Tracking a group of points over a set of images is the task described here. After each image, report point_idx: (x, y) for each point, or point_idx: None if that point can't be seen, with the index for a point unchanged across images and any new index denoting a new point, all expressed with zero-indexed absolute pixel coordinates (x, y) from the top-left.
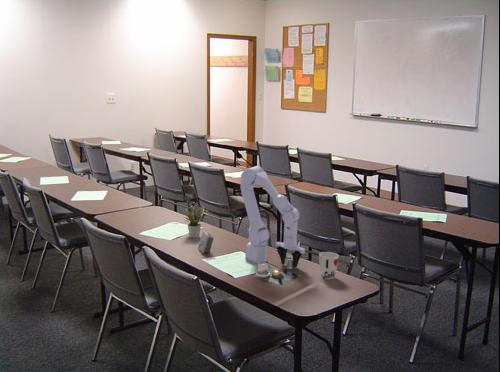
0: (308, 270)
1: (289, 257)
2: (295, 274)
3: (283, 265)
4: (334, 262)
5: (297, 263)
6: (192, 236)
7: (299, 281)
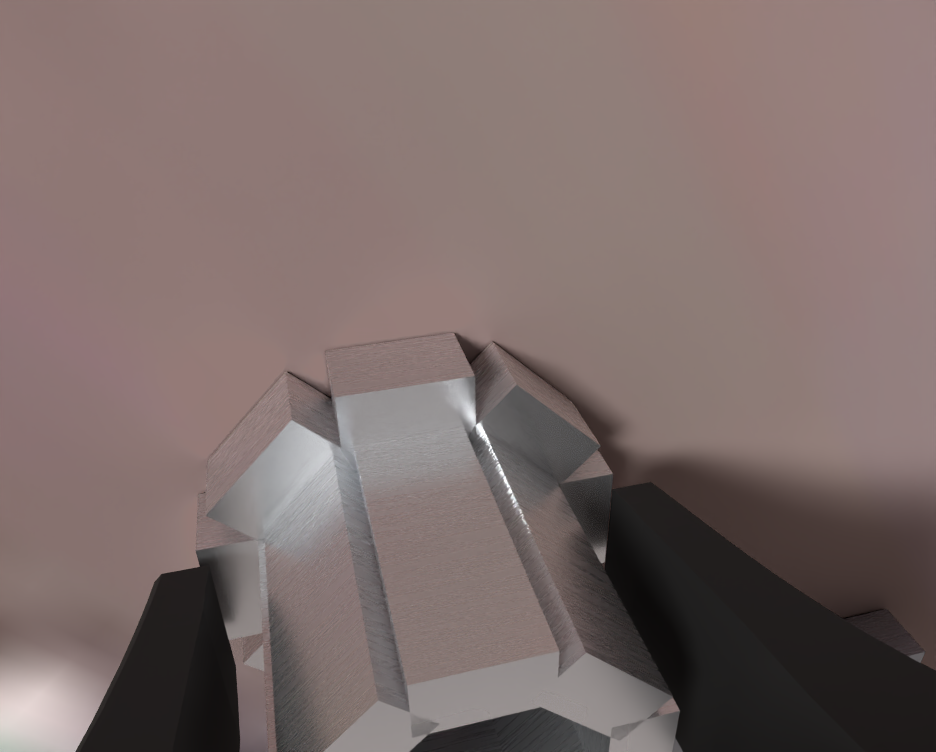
0: (870, 190)
1: (399, 738)
2: None
3: (252, 631)
4: None
5: (719, 551)
6: None
7: None
